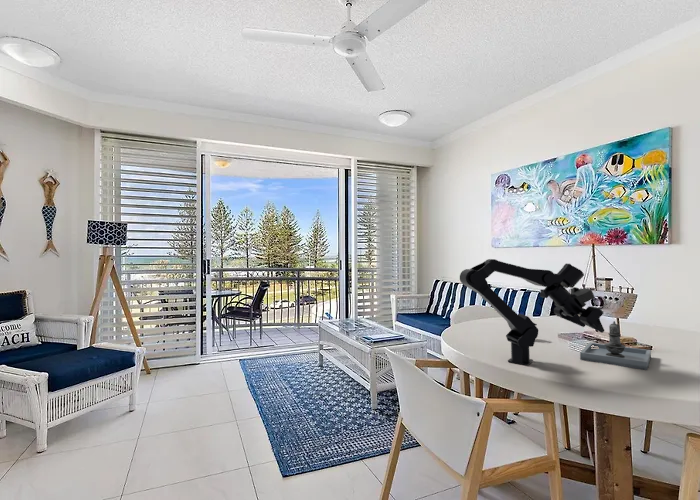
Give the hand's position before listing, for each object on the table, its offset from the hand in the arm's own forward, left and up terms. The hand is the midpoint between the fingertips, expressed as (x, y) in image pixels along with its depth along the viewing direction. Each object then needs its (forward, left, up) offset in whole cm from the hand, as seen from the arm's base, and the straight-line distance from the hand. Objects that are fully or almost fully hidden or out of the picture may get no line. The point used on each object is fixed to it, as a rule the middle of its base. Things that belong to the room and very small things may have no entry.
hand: (593, 328), depth 127 cm
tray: (+5, -6, -11) cm, 13 cm away
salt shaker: (+5, -5, -10) cm, 12 cm away
